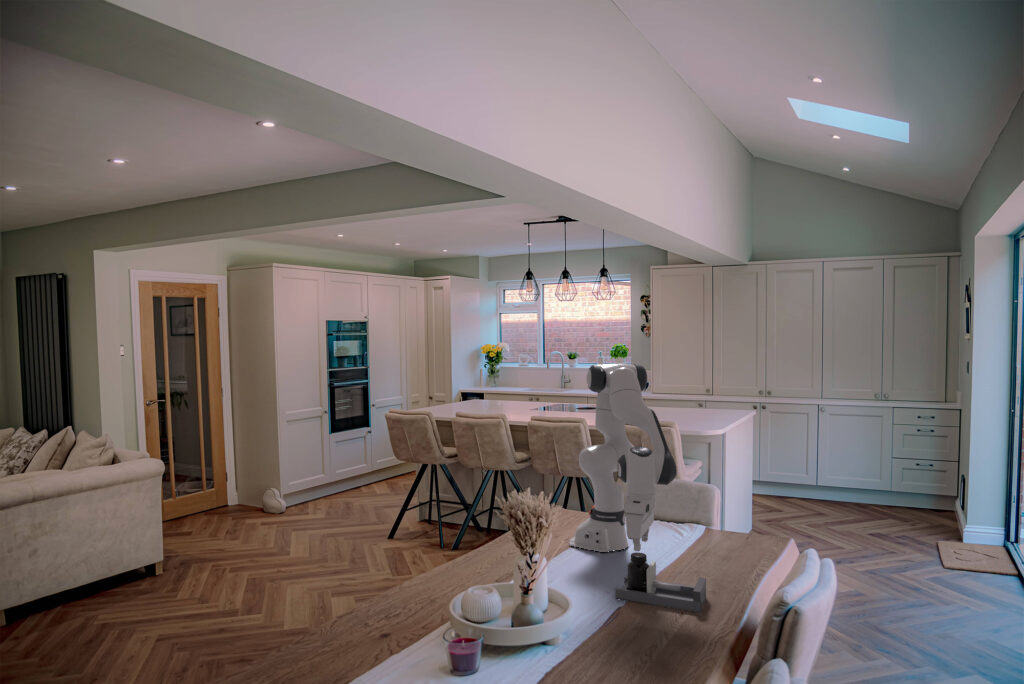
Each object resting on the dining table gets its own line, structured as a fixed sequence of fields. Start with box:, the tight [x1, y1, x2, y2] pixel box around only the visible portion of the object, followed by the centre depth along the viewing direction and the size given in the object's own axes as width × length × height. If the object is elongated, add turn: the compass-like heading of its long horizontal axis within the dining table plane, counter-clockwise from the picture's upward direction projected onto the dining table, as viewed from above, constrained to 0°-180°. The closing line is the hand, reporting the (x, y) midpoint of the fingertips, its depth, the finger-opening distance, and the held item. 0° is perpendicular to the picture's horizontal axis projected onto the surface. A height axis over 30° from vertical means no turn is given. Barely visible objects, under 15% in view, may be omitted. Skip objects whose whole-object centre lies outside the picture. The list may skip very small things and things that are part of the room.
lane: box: [615, 576, 707, 614], centre depth 194 cm, size 25×11×6 cm, turn 65°
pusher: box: [647, 560, 680, 594], centre depth 193 cm, size 9×8×9 cm
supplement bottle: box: [627, 552, 650, 593], centre depth 197 cm, size 7×7×12 cm
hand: (641, 545), depth 196 cm, fingers open, 8 cm apart
